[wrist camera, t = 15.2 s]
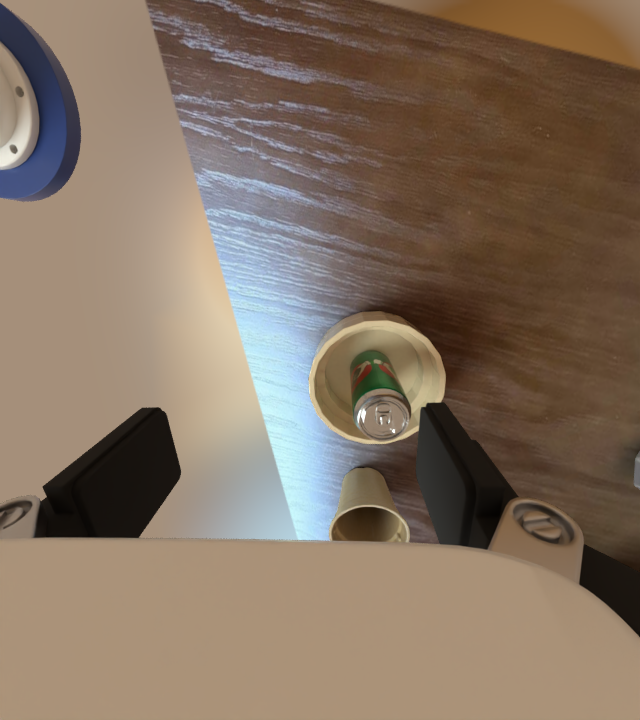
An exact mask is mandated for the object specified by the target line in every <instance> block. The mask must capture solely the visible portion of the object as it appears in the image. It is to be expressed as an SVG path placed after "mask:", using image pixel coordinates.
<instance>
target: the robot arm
mask: <svg viewBox="0 0 640 720" xmlns="http://www.w3.org/2000/svg"><path fill="white" fill-rule="evenodd" d="M38 134H39V112H38V105H37V101H36V97H35V93H34V91H33V88H32V86H31V83H30V81H29V78H28V77H27V75H26V73H25V71H24V70H23V68H22V66H21V64H20V63H19V62H18V60H17V59H16V58H15V56H14V55H13V54H12V52H11V51H10V50H9V49H8V48H7V47H6V46H5V45H4V44H3V43H2V42H1V41H0V170H7V169H12V168H15V167H17V166H19V165H21V164H22V163H23V162H25V161H26V160H27V159H28V158H29V156H30V155H31V154H32V152H33V150H34V148H35V146H36V143H37V139H38ZM180 475H181V469H180V465H179V461H178V457H177V453H176V449H175V445H174V442H173V438H172V434H171V430H170V426H169V422H168V418H167V415H166V413H165V412H164V411H162V410H161V409H160V408H158V407H157V408H141V409H140V410H138V411H137V412H136V413H135V414H133V415H132V416H131V417H130V418H128V419H127V420H126V421H125V422H123V423H122V424H121V425H120V426H118V427H117V428H116V429H115V430H113V431H112V432H111V433H109V434H108V435H107V436H106V437H104V438H103V439H102V440H101V441H99V442H98V443H97V444H96V445H94V446H93V447H92V448H91V449H89V450H88V451H87V452H86V453H84V454H83V455H82V456H81V457H79V458H78V459H77V460H76V461H74V462H73V463H72V464H71V465H69V466H68V467H67V468H65V470H63V471H62V472H60V473H59V474H58V475H57V476H55V477H54V478H53V479H52V480H50V481H49V482H48V483H47V484H45V485H44V486H43V489H44V491H45V493H46V496H47V497H46V498H45V499H44V500H42V501H40V499H39V498H38V497H36V496H30V495H27V496H21V497H17V498H13V499H11V500H7V501H5V502H3V503H0V720H640V572H638V571H636V570H634V569H632V568H630V567H628V566H626V565H624V564H622V563H620V562H618V561H616V560H614V559H612V558H610V557H608V556H606V555H605V554H603V553H601V552H599V551H597V550H595V549H593V548H591V547H589V546H587V545H585V544H584V537H583V532H582V530H581V529H580V527H579V526H578V524H577V523H576V522H575V521H574V520H573V519H572V518H571V517H570V516H569V515H568V514H566V513H565V512H564V511H562V510H561V509H559V508H558V507H556V506H554V505H552V504H550V503H548V502H545V501H542V500H539V499H536V498H529V497H518V496H517V494H516V493H515V492H514V490H513V489H512V487H511V486H510V485H509V483H508V482H507V481H506V479H505V478H504V477H503V475H502V474H501V473H500V471H499V470H498V469H497V467H496V466H495V465H494V463H493V462H492V461H491V459H490V458H489V457H488V455H487V454H486V453H485V451H484V450H483V449H482V447H481V446H480V444H479V443H478V442H477V441H476V440H471V439H470V437H469V436H468V434H467V433H466V432H465V430H464V429H463V427H462V426H461V425H460V423H459V422H458V420H457V419H456V418H455V416H454V415H453V414H452V412H451V411H450V409H449V408H448V407H447V405H446V404H445V403H444V402H439V403H427V404H426V407H421V409H420V421H419V434H418V447H417V461H416V477H417V481H418V483H419V486H420V489H421V492H422V495H423V498H424V500H425V503H426V506H427V509H428V512H429V515H430V517H431V520H432V523H433V526H434V529H435V531H436V534H437V537H438V540H439V543H440V544H426V543H409V542H369V541H320V540H265V539H263V540H262V539H261V540H260V539H193V538H191V539H190V538H139V536H140V535H141V533H142V532H143V531H144V529H145V528H146V526H147V525H148V524H149V522H150V521H151V519H152V518H153V516H154V515H155V513H156V512H157V511H158V509H159V508H160V506H161V505H162V503H163V502H164V501H165V499H166V497H167V496H168V495H169V493H170V492H171V490H172V489H173V487H174V486H175V485H176V483H177V482H178V480H179V478H180Z"/></svg>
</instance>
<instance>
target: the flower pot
mask: <svg viewBox="0 0 640 720" xmlns="http://www.w3.org/2000/svg"><path fill="white" fill-rule="evenodd" d="M329 538H330V541H369V542H409V539H410V531H409V527H408V525H407V523H406V521H405V519H404V518H403V517H402V516H401V515H400V513H399V511H398V510H397V509H396V507H395V505H394V502H393V500H392V497H391V495H390V492H389V490H388V487H387V485H386V482H385V479H384V477H383V476H382V475H381V474H380V473H379V472H378V471H376V470H374V469H372V468H368V467H367V468H355V469H353V470H351V471H350V472H348V473H347V474H346V475H345V477H344V479H343V482H342V489H341V495H340V500H339V505H338V510H337V512H336V514H335V517H334V519H333V520H332V522H331V525H330V528H329Z"/></svg>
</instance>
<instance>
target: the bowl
mask: <svg viewBox="0 0 640 720" xmlns="http://www.w3.org/2000/svg"><path fill="white" fill-rule="evenodd" d="M370 350H372V351H378V352H381V353H383V354H384V355H386V356H387V357H388V358H389V360H390V362H391V364H392V366H393V368H394V370H395V373H396V375H397V377H398V379H399V381H400V383H401V386H402V388H403V390H404V392H405V394H406V397H407V399H408V401H409V403H410V406H411V418H410V421H409V425H408V427H407V429H406V431H405V432H404V433H403V434H402V435H401V436H399V437H398V438H396V439H394V440H391V441H385V442H380V441H375V440H372V439H370V438H368V437H367V436H365V435H364V434H363V433H362V431H361V430H359V429H358V427H357V426H356V424H355V422H354V419H353V412H352V397H351V382H350V366H351V363H352V361H353V360H354V358H355V357H356V356H357V355H359V354H360V353H362V352H365V351H370ZM445 380H446V374H445V370H444V366H443V363H442V359H441V356H440V354H439V353H438V351H437V350H436V349H435V347H434V346H433V345H432V343H431V342H430V340H429V339H428V338H427V337H426V336H425V335H424V334H423V333H422V332H421V331H420V330H419V329H417V328H416V327H415V326H414V325H412V324H411V323H409V322H408V321H406V320H405V319H404V318H402V317H401V316H397V315H394V314H390V313H387V312H383V311H372V312H360V313H357V314H355V315H352V316H349V317H346V318H344V319H342V320H341V321H339V322H338V323H337V324H336V325H334V326H333V327H332V328H330V329H329V330H328V331H327V332H326V334H325V335H324V337H323V338H322V340H321V341H320V343H319V344H318V346H317V349H316V353H315V357H314V360H313V364H312V368H311V371H310V375H309V392H310V399H311V401H312V404H313V406H314V408H315V411H316V413H317V415H318V416H319V417H320V418H321V419H322V420H323V422H324V423H325V424H326V425H327V426H328V427H329V428H330V429H331V430H333V431H334V432H336V433H338V434H339V435H341V436H343V437H344V438H346V439H349V440H353V441H356V442H360V443H364V444H385V443H386V444H387V443H390V442H394V441H398V440H401V439H405V438H407V437H408V436H410V435H412V434H413V433H415V432H417V431H418V430H419V421H420V409H421V407H426V404H427V403H439V402H441V401H442V399H443V397H444V391H445Z"/></svg>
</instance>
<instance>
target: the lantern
mask: <svg viewBox="0 0 640 720" xmlns="http://www.w3.org/2000/svg"><path fill="white" fill-rule="evenodd" d="M634 486H636V487H637V488H639V489H640V451H639V453H638V455H637V457H636V458H635V473H634Z"/></svg>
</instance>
